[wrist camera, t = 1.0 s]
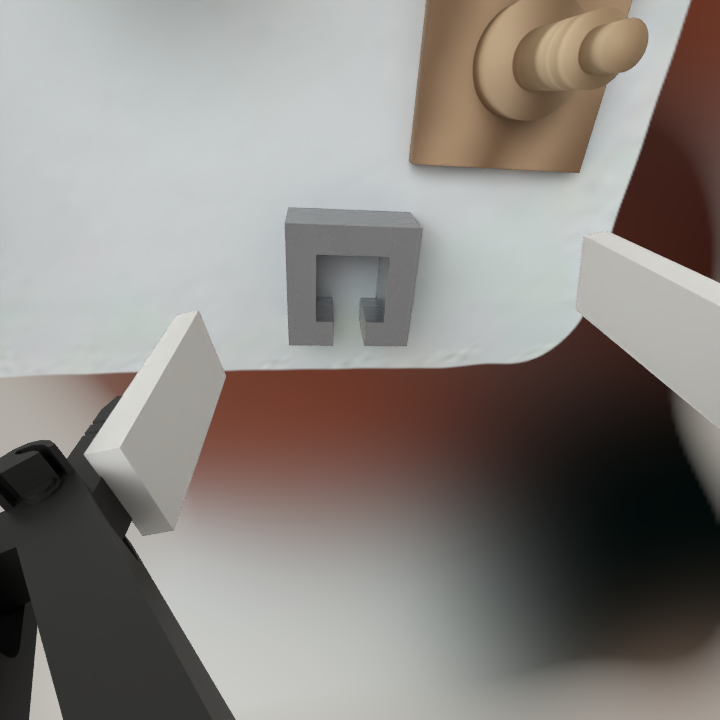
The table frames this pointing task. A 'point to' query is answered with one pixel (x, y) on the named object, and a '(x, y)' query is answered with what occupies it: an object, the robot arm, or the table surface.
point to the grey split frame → (351, 238)
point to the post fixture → (517, 80)
